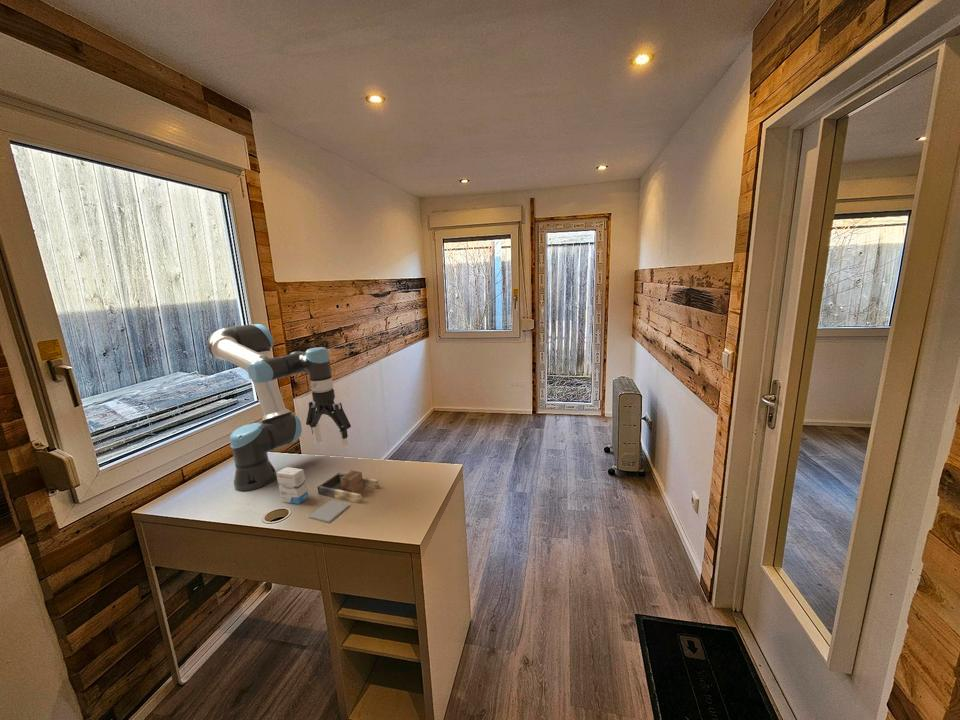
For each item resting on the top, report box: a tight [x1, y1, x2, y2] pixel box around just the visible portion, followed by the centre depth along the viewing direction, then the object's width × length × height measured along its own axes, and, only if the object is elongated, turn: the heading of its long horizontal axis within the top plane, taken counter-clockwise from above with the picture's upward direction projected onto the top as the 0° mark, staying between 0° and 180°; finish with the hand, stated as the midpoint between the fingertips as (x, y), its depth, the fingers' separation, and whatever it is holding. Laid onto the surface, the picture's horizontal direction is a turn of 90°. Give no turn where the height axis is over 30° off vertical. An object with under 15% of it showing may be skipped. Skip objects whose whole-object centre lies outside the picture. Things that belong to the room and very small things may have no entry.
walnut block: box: [340, 469, 365, 494], centre depth 142 cm, size 5×6×7 cm
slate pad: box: [308, 499, 351, 524], centre depth 131 cm, size 9×10×1 cm
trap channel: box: [317, 472, 380, 504], centre depth 143 cm, size 20×11×3 cm, turn 67°
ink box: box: [276, 466, 309, 505], centre depth 139 cm, size 8×5×12 cm, turn 71°
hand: (331, 444), depth 142 cm, fingers open, 12 cm apart
